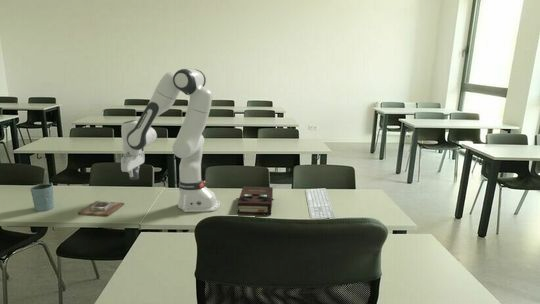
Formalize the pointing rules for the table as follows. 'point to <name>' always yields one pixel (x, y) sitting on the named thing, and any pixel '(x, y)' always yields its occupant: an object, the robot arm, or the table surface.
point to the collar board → (101, 208)
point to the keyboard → (319, 204)
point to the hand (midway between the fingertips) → (134, 175)
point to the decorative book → (255, 201)
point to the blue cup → (42, 197)
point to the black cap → (135, 175)
